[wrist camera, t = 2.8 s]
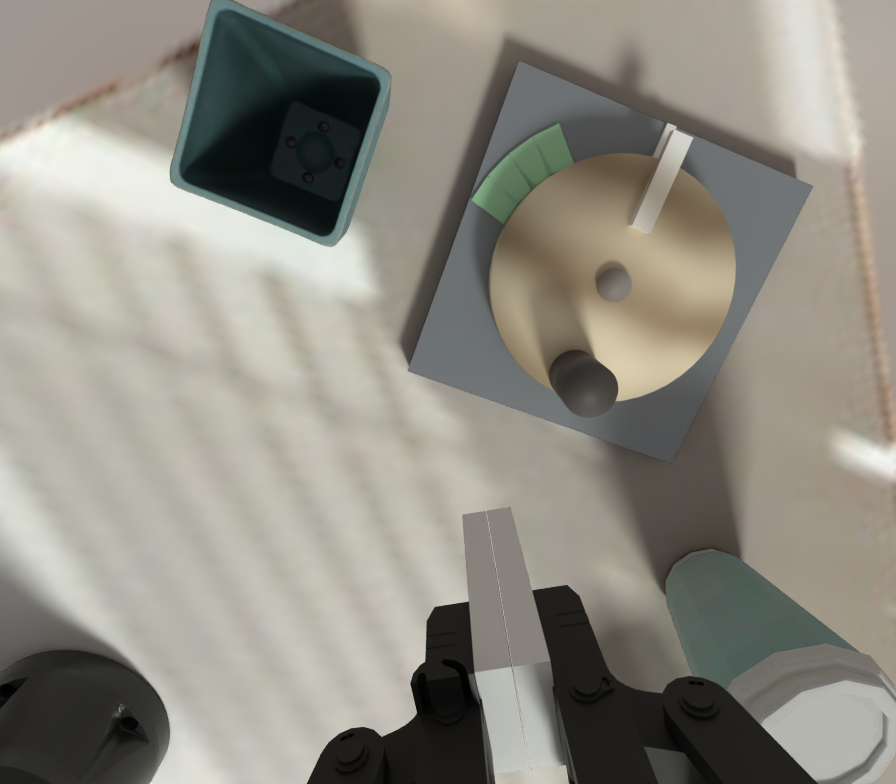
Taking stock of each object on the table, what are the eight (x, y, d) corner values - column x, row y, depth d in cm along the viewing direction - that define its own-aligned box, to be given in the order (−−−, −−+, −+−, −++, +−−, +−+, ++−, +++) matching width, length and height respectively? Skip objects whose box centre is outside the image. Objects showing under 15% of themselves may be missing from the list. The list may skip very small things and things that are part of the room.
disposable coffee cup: (781, 528, 43) (956, 676, 28) (754, 644, 46) (900, 832, 31) (646, 523, 42) (753, 670, 28) (627, 640, 45) (715, 828, 31)
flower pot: (360, 247, 37) (335, 250, 28) (231, 196, 36) (164, 182, 27) (406, 113, 34) (394, 71, 26) (270, 54, 33) (211, -11, 25)
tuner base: (408, 366, 39) (407, 371, 37) (515, 68, 34) (519, 59, 32) (662, 455, 41) (672, 465, 39) (798, 188, 36) (815, 185, 34)
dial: (552, 93, 33) (576, 62, 27) (773, 186, 34) (841, 176, 28) (454, 351, 37) (457, 372, 31) (656, 424, 38) (694, 457, 33)
